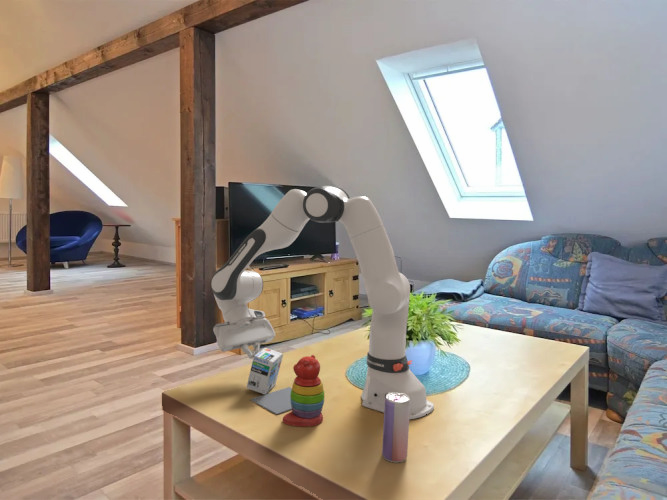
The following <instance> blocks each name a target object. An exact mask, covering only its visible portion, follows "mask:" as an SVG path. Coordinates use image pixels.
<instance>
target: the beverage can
mask: <svg viewBox="0 0 667 500" xmlns="http://www.w3.org/2000/svg"><path fill="white" fill-rule="evenodd" d="M409 400H410V399H409V397H408V396H407V395H405V394H402V393H389V394H387V395H386V399H385V406H384V412H383V427H382V428H383V429H382V445H381V446H382V447H381V449H382V451H381V455H382V457H383V458H384V459H385V460H386V461H387V462H389V461H390V463H392V462H394V464H400V463H403V462H405V461H406V460H407V458H408V447H409V446H408V445H409V428H410V427H409V426H410V419H409V414H410V401H409ZM399 462H400V463H399Z"/></svg>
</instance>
